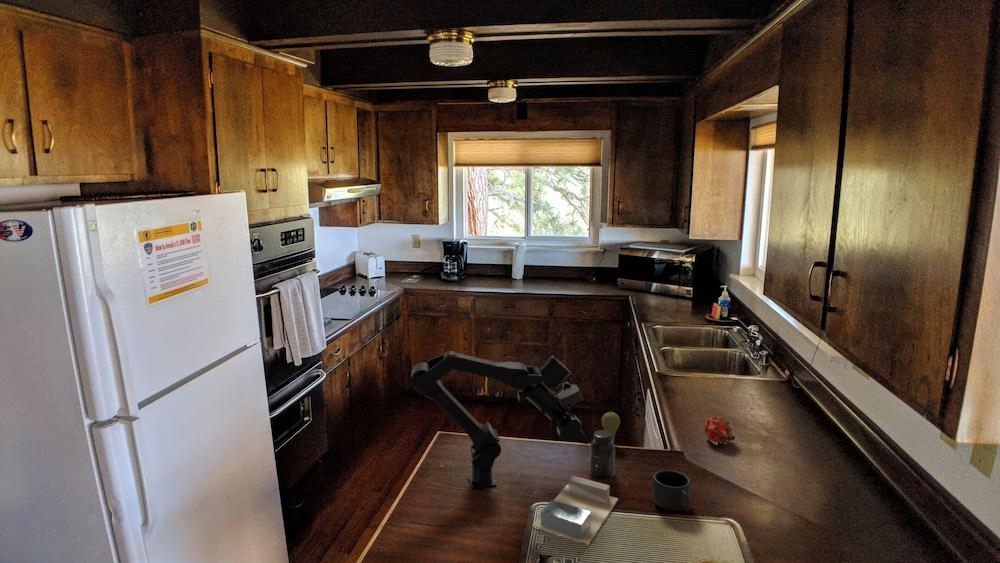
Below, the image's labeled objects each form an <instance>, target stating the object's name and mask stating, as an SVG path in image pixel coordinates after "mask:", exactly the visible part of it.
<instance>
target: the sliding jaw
mask: <svg viewBox="0 0 1000 563" xmlns="http://www.w3.org/2000/svg"><path fill="white" fill-rule="evenodd" d="M540 516H541V526H543V527H546V528H549V529H552V530H555V531H559V532H562V533H565V534H568V535H571V536H574V537H577V538H582V537H583V535H584V534H585V532H586V531H587V529H588V528H589V527H590V525H591V511H588V510H585V509H582V508H578V507H575V506H571V505H568V504H564V503H561V502H558V501H554V499H551V500H550V501H549V502H548V503H547V505H546V506H545V507H544V508H543V510H541V512H540Z"/></svg>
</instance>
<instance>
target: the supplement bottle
mask: <svg viewBox="0 0 1000 563" xmlns="http://www.w3.org/2000/svg"><path fill="white" fill-rule="evenodd" d="M615 464H616V446H615V443H614V442H612V434H611V433H610V432H608V431H605V430H603V429H600V430H596V431H594V433H593V440H592V441H591V442H590V443H589V465H588V466H589V474H590V476H591V477H592V478H594V479H596V480H600V481H606V480H610V479H612V478H613V477H615V470H616V468H615Z"/></svg>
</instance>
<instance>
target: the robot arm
mask: <svg viewBox="0 0 1000 563" xmlns="http://www.w3.org/2000/svg"><path fill="white" fill-rule="evenodd" d="M453 370H455V371H458V372H461V373H466V374H471V375H474V376H475V375H476V376H479V377H485V378H489V379H493V380H496V381H498V382H500V383H501V384H503V385H504V386H507V387H509V388H512V389H513V390H516V391H517V399H518V401H519V403H522V402H523V401H524V400H525V399H527V400H528V401H529V402H531V403H532V404H533V405H534V406H535V407H536V408H537V409H538V410H539V411H540V413H541V414H542V415H543V416H544V415H545V416H546V417H547V418H548V419H549V420H550V422H551V424H553V425H556V423H557V422H558V423H559V424H558V425H557V426H556V432H557V434H558V436H559V437H560V438H561V439H562V440H563V441H565V442H566V441H572V442H576V443H580V444H584V445H589V444H590V440H589V439H588V438H587V436H586V434H585V433H584V431H582V430H581V428H582V426H583V425H582V422H581V420H580V419H579V418H578V417H577V416H576V415H575V414H573V413H571V408H570V407H572V406H574V405H576V404H578V403H581V402H583V401H584V397H583V394H582V392H581V390H580V389H579V387H578V386H577V384H574V383H573V384H571V383H570V382H568V381H565V380H566V379H567V378H568V376H570V374H572V372H571V371H570V370H569V369H568V368H567V367H566V366H565V364H564V363H563V362H562V361H560V360H558V358H556V357H554V356H553V355H550V357H548V359H547V360H546V362H544V364H542V365H541V366H540V368H538V366H530V365H529V366H528V365H525V364H524V363H522V362H520V361H519V362H518V361H517V362H516V361H503V362H502V361H501V362H498V361H497V362H496V361H492V360H489V359H486V358H485V359H484V358H480V357H476V356H472V355H468V354H462V353H459V352H455V351H453V350H448V351H446V352H444V353H442V354H441V355H438V356H436V357H433V358H431V359H429V360H428V361H426V362H419V363H416V364H415V365H414V366H413V367H412V370H411V376H410V384H411V386H412V388H413V389H414V390H415V391H416V392H418V393H420V394H421V395H422V396H424V397H427V398H428V399H431V400H432V401H434V402H435V403H436V404H437V405H438V406H439V407H440V408H441V410H442V411H444V412H445V413H446V415H448V416H449V417H450V419H451V420H452V421H453V422H454V423H456V424H457V426H458V427H459V428H461V430H462V431H463V432H464V433H465V434H466V435H467V436H468V437H469V439H470V440H471V442H472V445H471V446H470V447H469V448H470V450H469V451H470V455H471V456H470V457H471V461H470V462H471V463H470V464H471V467H470V468H471V469H470V470H471V474H470V475H468V476H467V479H468V478H469V479H468V481H469V483H470V485H471V487H472V490H476V489H484V488H490V487H496V486H497V482H496V480H495V478H494V476H493V475H494V474H493V472H494V471H493V470H494V469H493V466H494V463H495V461H496V459H498V458H499V456H500V454H501V452H502V446H501V443H500V442H501V441H500V437H499V434H498V430H497V429H495V428H493V427H492V425H491V424H490V423H489V422H488V421H486V423H485V424H482V423H480V422H479V421H477V420H476V418H475V417H474V416H473V415H472V413H470V412H469V411H468V410H467V409H466V407H464V406H463V405H462V404H461V403H460V401H458V400H457V399H456V397H454V396H453V395H452V394H451V392H449V391H448V389H446V388H445V386H444V384H443V383H442V381H441V379H442V378H444V377H445V376H446V375H447V374H448V373H450V372H451V371H453ZM562 382H563V383H562ZM560 385H561V389H560V392H558V393H557V392H556V391H553V390H550V389H551V388H553V389H555V388H558V387H559V386H560ZM549 388H550V389H549Z"/></svg>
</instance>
